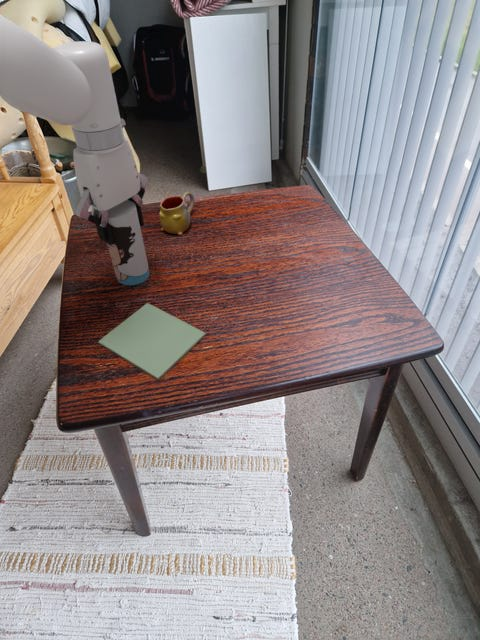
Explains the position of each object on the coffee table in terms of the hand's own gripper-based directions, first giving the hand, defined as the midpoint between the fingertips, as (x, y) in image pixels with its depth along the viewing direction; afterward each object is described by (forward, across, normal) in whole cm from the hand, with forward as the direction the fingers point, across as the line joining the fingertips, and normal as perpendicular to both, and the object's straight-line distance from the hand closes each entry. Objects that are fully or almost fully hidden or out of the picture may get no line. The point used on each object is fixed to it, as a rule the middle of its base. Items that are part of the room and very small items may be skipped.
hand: (122, 232), depth 79 cm
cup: (+10, 0, 0) cm, 10 cm away
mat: (+10, +11, +16) cm, 22 cm away
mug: (+10, -21, -5) cm, 24 cm away
